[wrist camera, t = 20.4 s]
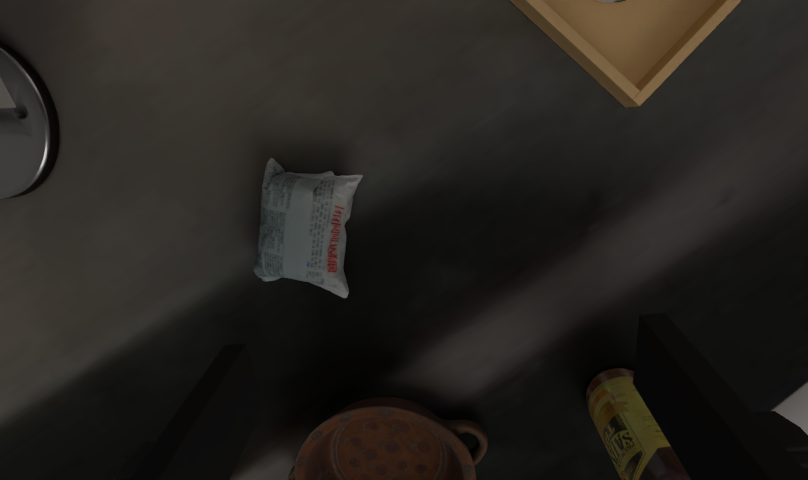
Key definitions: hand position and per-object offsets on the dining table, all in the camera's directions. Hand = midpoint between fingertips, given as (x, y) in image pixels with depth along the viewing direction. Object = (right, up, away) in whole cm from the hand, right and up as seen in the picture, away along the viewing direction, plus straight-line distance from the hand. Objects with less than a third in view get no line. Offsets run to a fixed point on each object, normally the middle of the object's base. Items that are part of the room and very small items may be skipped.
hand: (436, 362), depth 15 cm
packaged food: (-9, +6, +26) cm, 29 cm away
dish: (-3, -19, +32) cm, 37 cm away
